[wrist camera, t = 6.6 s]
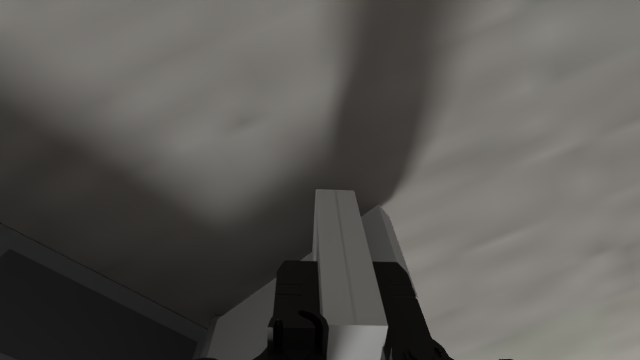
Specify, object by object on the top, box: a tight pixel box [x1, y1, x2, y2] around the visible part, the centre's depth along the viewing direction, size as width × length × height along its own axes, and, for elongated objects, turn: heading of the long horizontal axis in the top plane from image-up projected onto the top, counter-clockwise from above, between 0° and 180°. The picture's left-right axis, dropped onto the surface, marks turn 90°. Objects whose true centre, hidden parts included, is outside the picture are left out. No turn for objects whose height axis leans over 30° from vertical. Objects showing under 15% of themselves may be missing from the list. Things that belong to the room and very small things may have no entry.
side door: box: [199, 205, 418, 360], centre depth 16 cm, size 10×2×6 cm, turn 130°
